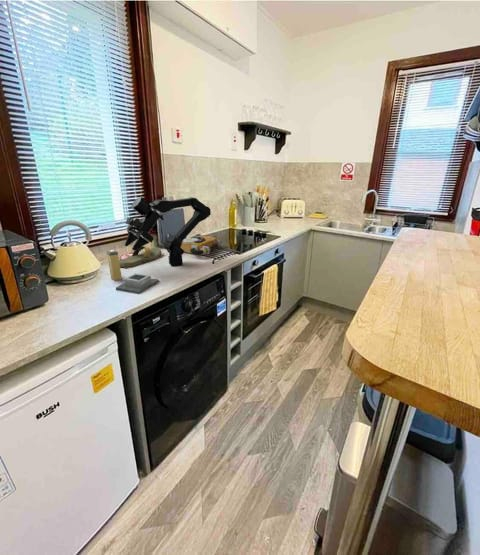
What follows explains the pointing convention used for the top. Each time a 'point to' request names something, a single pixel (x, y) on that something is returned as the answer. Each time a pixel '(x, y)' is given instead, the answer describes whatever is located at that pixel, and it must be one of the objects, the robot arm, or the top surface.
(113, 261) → the tan upright block
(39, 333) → the top surface
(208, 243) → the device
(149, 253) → the sandal
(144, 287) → the grey stepped base
